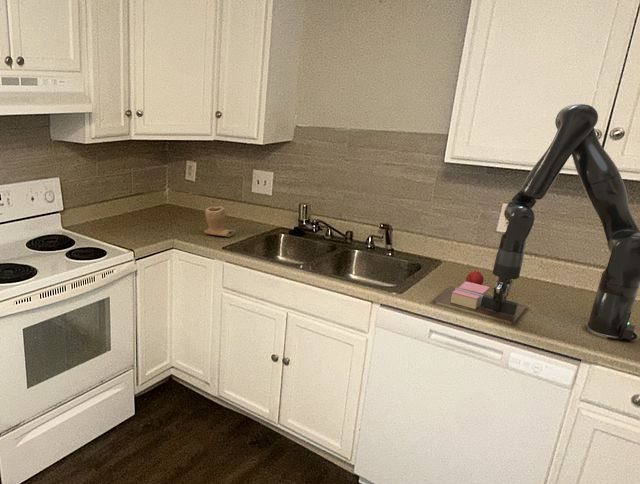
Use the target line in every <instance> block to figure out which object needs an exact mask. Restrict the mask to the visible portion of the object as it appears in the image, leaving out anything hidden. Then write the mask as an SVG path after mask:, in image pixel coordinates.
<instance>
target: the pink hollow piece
mask: <svg viewBox="0 0 640 484" xmlns="http://www.w3.org/2000/svg"><path fill="white" fill-rule="evenodd" d="M226 215H227V213H226V208H224V207H223V206H221V205H220V206H219V205H218V206H210V207H208V208H206V209H205V211H204V217H205V220H206V223H207V229H205V230H204V234H206V235H211V236H217V237H225V238H231V237H232V236H234V235H235V234H236V233H237V230H235V229H230V228H226V227H225V222H226Z"/></svg>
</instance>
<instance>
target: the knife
mask: <svg viewBox="0 0 640 484" xmlns="http://www.w3.org/2000/svg"><path fill="white" fill-rule="evenodd" d="M454 288H455V290H457V291H461V292H465V293H469V294H473V295H477V296H480V299H479V304H478V305H480V307H483V308H487V309H490V310H493V306H494V302H495V301H494V300H493V295H489V294H488V295H481V294H477V293H473V292H470V291H466V290H462V289H458V287H454ZM518 303H519V302H517V301H516V302H515V301H511V300H508V299H506V300H505V299H504V301H503V303H502V307H501V311H500V312H501V313H505V314H508V315H512V316H514V315H515V313H516V309H517V305H518Z"/></svg>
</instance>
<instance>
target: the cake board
mask: <svg viewBox="0 0 640 484" xmlns="http://www.w3.org/2000/svg"><path fill="white" fill-rule="evenodd" d="M455 288H456V287H453V286H449V288H447V289H446V290H444V291H443V292H442V293H441V294H440V295H439V296H437V297H435V299H433V300H432V301H433V302H435V303H438V304H443V305H446V306H451V307H454V308H457V309H462V310H465V311H469V312H473V313H476V314H480V315H484V316H488V317H491V318H494V319H498V320H501V321H506V322H509V323H513V324H514V323H515V322H516V321H517V319H519V317H520V316H521V315H522V313H523V312H524V310H525V309H527V307H528V305H527V304H522V303H519V302H517V303H518V305H517V309H516V313H515V315H514V316H512V315H508V314H505V313H501V312H495V311H493V310H490V309H487V308H483V307H480V305H478V307H477V308H476V309H473V308H469V307H466V306H462V305H458V304H455V303H451V297H452V292H453V291H455Z"/></svg>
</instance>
